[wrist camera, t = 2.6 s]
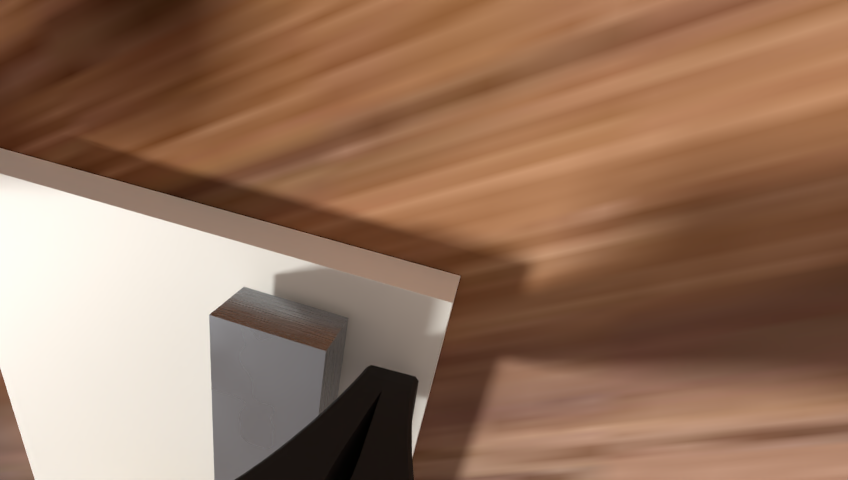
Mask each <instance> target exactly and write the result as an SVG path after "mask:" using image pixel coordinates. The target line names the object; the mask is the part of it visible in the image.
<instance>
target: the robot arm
mask: <svg viewBox="0 0 848 480" xmlns="http://www.w3.org/2000/svg"><path fill="white" fill-rule="evenodd" d="M418 383H419V381H418V379H417V378H416V377H415V376H412V375H408V374H404V373H400V372H397V371H393V370H389V369H385V368H381V367H378V366H374V365H370V366H368V367H366V368H365V370H364V371H363V372H362V373H361V374H360V375H359V376H358V377H357V378H356V379H355V381H354V382H353V383H352V384H351V385H350V386H349V387H348V388H347V389H346V390H345V391H344V392H343V393H342V394H341V395H340V396H339V397H338V398H337V399H336V400H335V401H333V402H332V403H331V404H330V405H329V406H328V407H327V408H326V409H325V410H324V411H323V412H322V413H320V414H319V415H318V416H317V417H316V418H315V419H314V420H313V421H312V422H310V423H309V424H308V425H307V426H306V427H304V428H303V429H302V430H301V431H300V432H298V433H297V434H296V435H295V436H294V437H292V438H291V439H290V440H289V441H288V442H286V443H285V444H284V445H282V446H281V447H280V448H279V449H277V450H276V451H275V452H273V453H272V454H271V455H269V456H268V457H267V458H265V459H264V460H262V461H261V462H260V463H258V464H257V465H255V466H254V467H253V468H251V469H250V470H248V471H247V472H245V473H244V474H242V475H241V476H239V477H238V478H236V479H235V480H414V477H413V463H412V419H413V413H414V407H415V401H416V395H417V389H418Z"/></svg>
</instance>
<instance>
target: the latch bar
mask: <svg viewBox="0 0 848 480" xmlns="http://www.w3.org/2000/svg"><path fill="white" fill-rule="evenodd" d="M348 319H349V318H347V317H344V316H340V315H337V314H334V313H330V312H327V311H324V310H320V309H317V308H314V307H310V306H307V305H304V304H300V303H297V302H294V301H290V300H287V299H284V298H280V297H277V296H274V295H270V294H267V293H264V292H260V291H257V290H254V289H250V288H247V287H243V288H242V289H240V290H239V291H238V292H237V293H235V294H234V295H233V296H232V297H230V298H229V299H228V300H227V301H226V302H224V303H223V304H222V305H221V306H219V307H218V308H217V309H216V310H214V311H213V312H212V313H211V314H209V328H210V359H211V390H212V421H213V452H214V480H235V479H236V478H238V477H239V476H241V475H242V474H244V473H245V472H247V471H248V470H250V469H251V468H253V467H254V466H255V465H257V464H258V463H260V462H261V461H262V460H264V459H265V458H267V457H268V456H269V455H271V454H272V453H273V452H275V451H276V450H277V449H279V448H280V447H281V446H282V445H284V444H285V443H286V442H288V441H289V440H290V439H291V438H292V437H294V436H295V435H296V434H297V433H298V432H300V431H301V430H302V429H303V428H304V427H306V426H307V425H308V424H309V423H310V422H312V421H313V420H314V419H315V418H316V417H317V416H318V415H319V414H320V413H322V412H323V411H324V410H325V409H326V408H327V407H328V406H329V405H330V404H331V403H332V402H333V401H335V400H336V399H337V398H338V391H339V383H340V376H341V369H342V362H343V355H344V348H345V340H346V333H347V326H348Z"/></svg>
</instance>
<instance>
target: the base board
mask: <svg viewBox="0 0 848 480" xmlns="http://www.w3.org/2000/svg"><path fill="white" fill-rule="evenodd" d="M460 277H461V276H459V275H456V274H452V273H448V272H445V271H441V270H438V269H434V268H430V267H427V266H423V265H420V264H416V263H412V262H409V261H405V260H402V259H398V258H394V257H391V256H387V255H384V254H380V253H376V252H373V251H369V250H366V249H362V248H358V247H355V246H351V245H348V244H344V243H340V242H337V241H333V240H330V239H326V238H323V237H319V236H315V235H312V234H308V233H305V232H301V231H297V230H294V229H290V228H287V227H283V226H279V225H276V224H272V223H269V222H265V221H261V220H258V219H254V218H251V217H247V216H243V215H240V214H236V213H233V212H229V211H225V210H222V209H218V208H215V207H211V206H207V205H204V204H200V203H197V202H193V201H189V200H186V199H182V198H179V197H175V196H171V195H168V194H164V193H161V192H157V191H153V190H150V189H146V188H143V187H139V186H135V185H132V184H128V183H125V182H121V181H117V180H114V179H110V178H107V177H103V176H99V175H96V174H92V173H89V172H85V171H81V170H78V169H74V168H71V167H67V166H63V165H60V164H56V163H53V162H49V161H45V160H42V159H38V158H35V157H31V156H27V155H24V154H20V153H17V152H13V151H9V150H6V149H2V148H0V368H1V371H2V375H3V378H4V381H5V384H6V388H7V391H8V394H9V397H10V401H11V404H12V407H13V410H14V414H15V417H16V420H17V423H18V426H19V430H20V433H21V436H22V439H23V443H24V446H25V449H26V452H27V456H28V459H29V462H30V465H31V469H32V472H33V475H34V478H35V480H214V452H213V421H212V390H211V359H210V328H209V314H211V313H212V312H213V311H214V310H216V309H217V308H218V307H219V306H221V305H222V304H223V303H224V302H226V301H227V300H228V299H229V298H230V297H232V296H233V295H234V294H235V293H237V292H238V291H239V290H240V289H242V288H243V287H247V288H250V289H254V290H257V291H260V292H264V293H267V294H270V295H274V296H277V297H280V298H284V299H287V300H290V301H294V302H297V303H300V304H304V305H307V306H310V307H314V308H317V309H320V310H324V311H327V312H330V313H334V314H337V315H340V316H344V317H347V318H349V319H348V326H347V333H346V340H345V348H344V355H343V362H342V369H341V376H340V383H339V391H338V397H339V396H340V395H341V394H342V393H343V392H344V391H345V390H346V389H347V388H348V387H349V386H350V385H351V384H352V383H353V382H354V381H355V379H356V378H357V377H358V376H359V375H360V374H361V373H362V372H363V371H364V370H365V368H366V367H368V366H370V365H374V366H378V367H381V368H385V369H389V370H393V371H397V372H400V373H404V374H408V375H412V376H415V377H416V378H417V379H418V381H419V383H418V389H417V395H416V401H415V407H414V413H413V419H412V458H413V455H414V451H415V447H416V443H417V439H418V436H419V432H420V428H421V424H422V420H423V417H424V413H425V409H426V405H427V401H428V398H429V394H430V390H431V386H432V383H433V379H434V375H435V371H436V367H437V364H438V360H439V356H440V352H441V348H442V345H443V341H444V337H445V333H446V330H447V326H448V322H449V318H450V314H451V311H452V307H453V303H454V299H455V295H456V292H457V288H458V284H459V280H460Z"/></svg>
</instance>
